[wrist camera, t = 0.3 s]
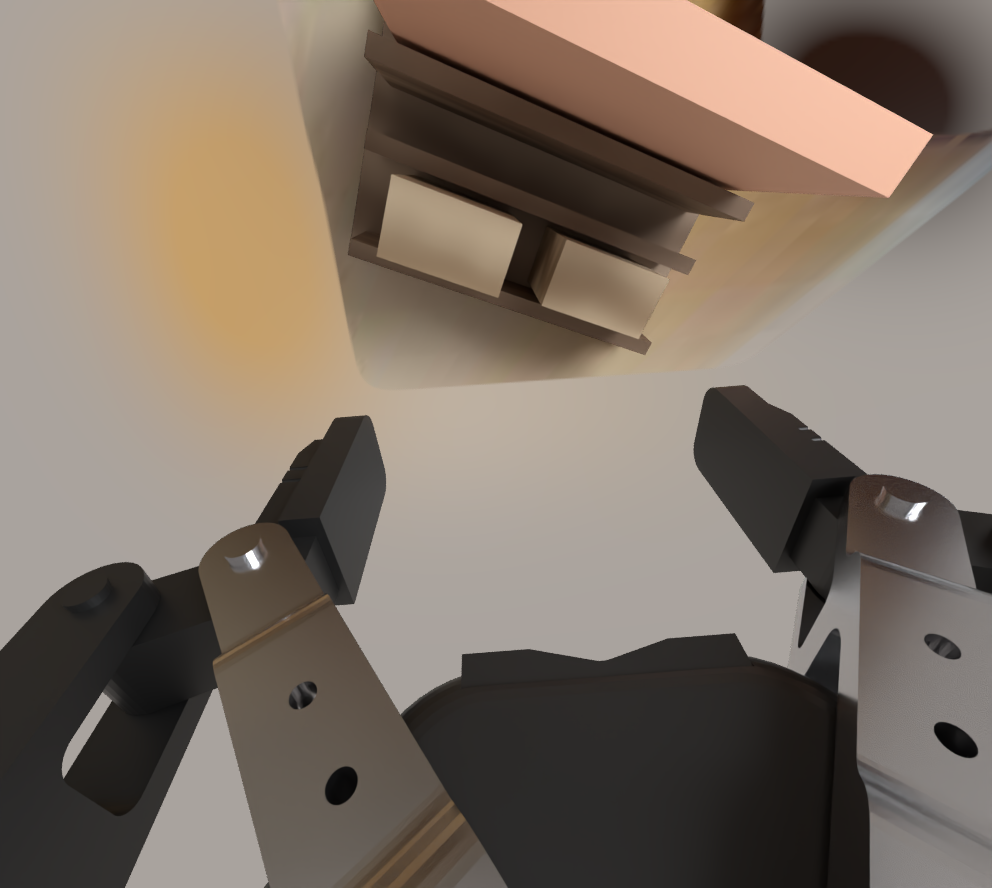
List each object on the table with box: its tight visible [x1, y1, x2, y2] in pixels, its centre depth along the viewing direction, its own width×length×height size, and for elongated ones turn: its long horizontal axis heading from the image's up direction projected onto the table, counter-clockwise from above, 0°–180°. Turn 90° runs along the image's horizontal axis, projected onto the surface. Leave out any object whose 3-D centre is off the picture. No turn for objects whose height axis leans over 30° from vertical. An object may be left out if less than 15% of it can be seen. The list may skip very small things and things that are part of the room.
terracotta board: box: [374, 0, 933, 198], centre depth 21 cm, size 2×20×18 cm, turn 71°
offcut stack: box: [377, 174, 670, 339], centre depth 28 cm, size 4×17×10 cm, turn 71°
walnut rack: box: [348, 20, 754, 355], centre depth 28 cm, size 16×24×10 cm, turn 71°
